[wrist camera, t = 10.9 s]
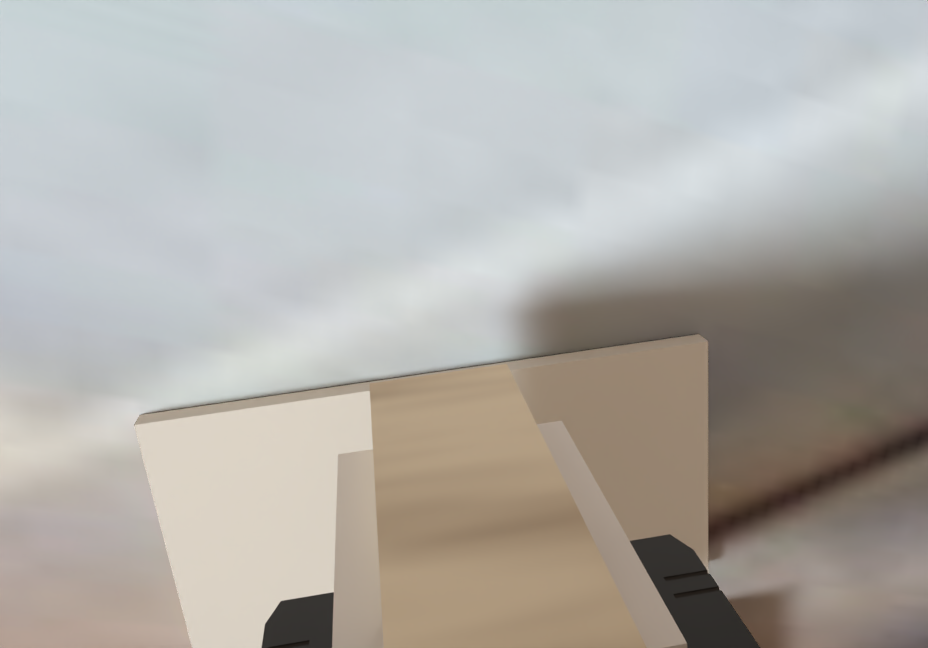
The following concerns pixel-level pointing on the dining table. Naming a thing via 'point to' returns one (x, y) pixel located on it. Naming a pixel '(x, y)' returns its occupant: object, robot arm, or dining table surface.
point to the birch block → (482, 524)
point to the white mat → (350, 430)
